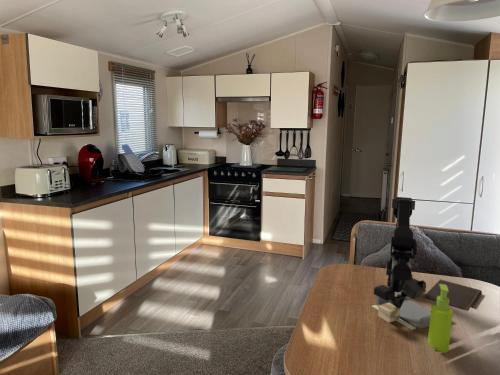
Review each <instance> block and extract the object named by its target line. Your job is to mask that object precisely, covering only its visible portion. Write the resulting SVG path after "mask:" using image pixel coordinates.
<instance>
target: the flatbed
mask: <svg viewBox="0 0 500 375" xmlns="http://www.w3.org/2000/svg"><path fill="white" fill-rule="evenodd" d="M386 303H391V304H392V301H391V300H384V299H382V298H380V297H378V296H376V305H378V306H379V305H382V304H386ZM430 315H431V309H428V308H426V307H424V306H423V305H421V304H419V303H416V302H414V301H412V300H410V299H408V298H407V297H406V298H405V300H404V302H403V304H402V306H401V308H400V317H401V318H402V319H404V320H406V321H407V322H409V323H412V325H413V326H414V325H415V327H418V328H420V329H424V328H427V327H428V328H429V325H430Z"/></svg>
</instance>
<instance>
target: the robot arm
mask: <svg viewBox="0 0 500 375" xmlns="http://www.w3.org/2000/svg"><path fill="white" fill-rule="evenodd" d="M415 208H416V200H413V198H412V197H403V196H395V198H392V199H391V209H392V214H393V215H394V217H395V220H396V221H395V228H394V230H393V235H391V238H390V252H389V253H390V255H389V257H388V260H386V261H387V262H386V268H385V269H386V271H385V275H386V276H387V277H388V278H387V283H386V285H384V284H382V285H377V286H375V287H374V288H373V295H374V296H376V297H377V296H378V297H380V298H382V299H384V300H391V301H392V304H393V305H394V306H396V307H398V308H401V306H402V304H403V302H404V300H405V298H406V299H407V298H408V297H409V298H410V299H413V300H414V299H416V298H420V297H421V296H422V294H423V293H425V292H427V290H426V289H427V283H426V281H425V280H418V279H416V278H413V273H412V265H411V259H413V260H414V259H415V256H417V253H418V250H417V249H418V242H417V240H416V238H414V231H413V230H412V229H411V227H410V224H411V222H410V221H411V219H410V218H411V216H412V214H413V211H415V210H416V209H415Z"/></svg>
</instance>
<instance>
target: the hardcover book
mask: <svg viewBox="0 0 500 375" xmlns="http://www.w3.org/2000/svg"><path fill="white" fill-rule="evenodd" d="M439 284H445V285H447V288H448V292H447V298H449V306H450V307H453V308H457V309H460V310H462V311H467V312H469V310H470V309H473V308H474V306H475V305H476V304H477V302H478V300H479V299H480V297H481V296H483V291H482V290H481V289H477V288H473V287H471V286H466V285H462V284H459V283H455V282H451V281H448V280H444V279H439V280H438V281H437V282H436V283H435V284H434V285H433V286H432V287H431V288H430V289H429V290H428V291H426V292H427V293H425V294H424V296H423V297H422V298H423V299H425V300H426V299H427V300H430V301H433V302H437V297H438V296H440V294H441V289H440V286H439Z"/></svg>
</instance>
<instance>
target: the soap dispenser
mask: <svg viewBox="0 0 500 375" xmlns="http://www.w3.org/2000/svg"><path fill="white" fill-rule="evenodd" d="M439 286H440V289H441V294H440V296H438V297H437V302H436V301H435V302H436V304H434V305H431V308H430V311H431V315H430V325H429V326H428V328H429V329H428V336H427V337H428V338H427V343H428V345H429V346H430V347H431V348H433V349H435V350H433V351H434V352H436V353H440V354H441V353H442V354H444V353H445V354H446V353H447V352H449V348H450V342H451V341H450V339H451V332H452V323H453V314H454V311H453V309H452V308H450V307H449V298H447V292H448V288H447V285H445V284H439Z"/></svg>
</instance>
